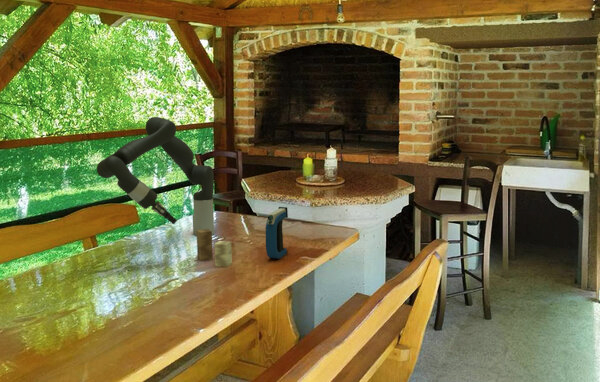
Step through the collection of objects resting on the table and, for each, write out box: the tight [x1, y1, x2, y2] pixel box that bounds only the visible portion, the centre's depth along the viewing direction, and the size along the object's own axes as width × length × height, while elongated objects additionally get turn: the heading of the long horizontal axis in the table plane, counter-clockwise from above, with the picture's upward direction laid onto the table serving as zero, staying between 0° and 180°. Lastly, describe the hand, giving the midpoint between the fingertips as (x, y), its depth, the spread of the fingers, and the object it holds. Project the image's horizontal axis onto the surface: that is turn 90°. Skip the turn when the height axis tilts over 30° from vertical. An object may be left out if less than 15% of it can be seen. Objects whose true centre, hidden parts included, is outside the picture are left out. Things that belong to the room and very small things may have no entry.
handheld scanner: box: [265, 206, 289, 260], centre depth 259 cm, size 5×16×20 cm, turn 161°
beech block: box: [214, 240, 233, 268], centre depth 249 cm, size 5×5×9 cm
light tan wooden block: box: [196, 229, 214, 262], centre depth 257 cm, size 5×5×12 cm
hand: (174, 221), depth 250 cm, fingers closed
